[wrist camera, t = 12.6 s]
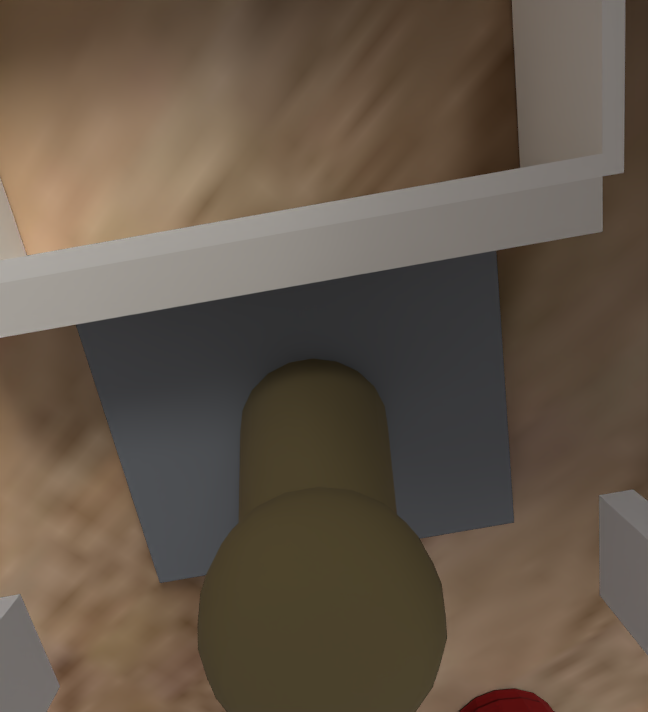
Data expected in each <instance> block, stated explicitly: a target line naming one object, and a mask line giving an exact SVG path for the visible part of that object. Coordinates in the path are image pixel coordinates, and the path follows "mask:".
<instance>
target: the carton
mask: <svg viewBox="0 0 648 712" xmlns="http://www.w3.org/2000/svg"><path fill="white" fill-rule="evenodd" d="M512 16H513V36H514V56H515V76H516V96H517V117H518V137H519V157H520V168H517V169H512V170H506V171H500V172H495V173H489V174H484V175H478V176H472V177H467V178H461V179H455V180H450V181H444V182H439V183H433V184H427V185H422V186H416V187H410V188H405V189H399V190H394V191H388V192H382V193H377V194H371V195H366V196H360V197H354V198H349V199H343V200H337V201H332V202H326V203H321V204H315V205H309V206H304V207H298V208H292V209H287V210H281V211H276V212H270V213H264V214H259V215H253V216H247V217H242V218H236V219H231V220H225V221H219V222H214V223H208V224H202V225H197V226H191V227H186V228H180V229H174V230H169V231H163V232H157V233H152V234H146V235H141V236H135V237H129V238H124V239H118V240H112V241H107V242H101V243H96V244H90V245H84V246H79V247H73V248H67V249H62V250H56V251H51V252H45V253H39V254H34V255H28V256H27V254H26V251H25V248H24V245H23V243H22V240H21V237H20V234H19V231H18V228H17V225H16V222H15V219H14V216H13V213H12V210H11V207H10V204H9V202H8V199H7V196H6V193H5V190H4V187H3V184H2V181H1V178H0V338H2V337H8V336H14V335H20V334H25V333H31V332H37V331H42V330H48V329H54V328H59V327H65V326H71V325H76V324H82V323H88V322H93V321H99V320H105V319H110V318H116V317H122V316H127V315H133V314H139V313H144V312H150V311H156V310H161V309H167V308H173V307H178V306H184V305H190V304H195V303H201V302H207V301H212V300H218V299H224V298H229V297H235V296H241V295H246V294H252V293H258V292H263V291H269V290H275V289H280V288H286V287H292V286H298V285H303V284H309V283H315V282H320V281H326V280H332V279H337V278H343V277H349V276H354V275H360V274H366V273H371V272H377V271H383V270H388V269H394V268H400V267H405V266H411V265H417V264H422V263H428V262H434V261H439V260H445V259H451V258H456V257H462V256H468V255H473V254H479V253H485V252H490V251H496V250H502V249H507V248H513V247H519V246H524V245H530V244H536V243H541V242H547V241H553V240H558V239H564V238H570V237H575V236H581V235H587V234H593V233H598V232H603V176H608V175H614V174H619V173H624V114H625V0H512Z"/></svg>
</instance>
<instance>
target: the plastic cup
mask: <svg viewBox="0 0 648 712" xmlns="http://www.w3.org/2000/svg"><path fill="white" fill-rule="evenodd" d="M460 712H554V711H553V710H552V709H551V707H550V706H549V705H548V703H547V702H545V701H544V700H543V699H541V698H540V697H538V696H537V695H536V694H534V693H531V692H527V691H523V690H519V689H506V690H494V691H492V692H489V693H487V694H484V695H482V696H479V697H477V698H475V699H474V700H472V701H471V702H470V703H469V704H468V705H466V706H465V707H464V708H463V709H462V710H460Z"/></svg>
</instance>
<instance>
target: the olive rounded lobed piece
mask: <svg viewBox="0 0 648 712" xmlns="http://www.w3.org/2000/svg"><path fill="white" fill-rule="evenodd" d="M446 639H447V630H446V615H445V607H444V599H443V592H442V584H441V581H440V579H439V576H438V574H437V571H436V569H435V567H434V564H433V562H432V560H431V559H430V557H429V555H428V553H427V551H426V550H425V548H424V546H423V544H422V543H421V541H420V539H419V537H418V536H417V535H416V533H415V532H414V531H413V530H412V529H411V528H410V526H409V525H408V524H407V523H406V522H405V521H404V520H403V519H401V518H400V517H399V516H398V515H397V509H396V500H395V490H394V481H393V471H392V461H391V452H390V442H389V432H388V424H387V417H386V411H385V405H384V404H383V402H382V400H381V398H380V396H379V394H378V392H377V390H376V389H375V387H374V386H373V385H372V384H371V383H370V382H369V381H368V380H367V379H366V378H365V377H364V376H363V375H361V374H360V373H359V372H358V371H356V370H354V369H352V368H350V367H348V366H345V365H343V364H341V363H339V362H337V361H329V360H321V359H313V358H312V359H307V360H301V361H296V362H290V363H287V364H286V365H284V366H282V367H280V368H278V369H276V370H274V371H272V372H270V373H268V374H267V375H266V376H265V377H264V378H263V379H262V380H261V381H260V382H259V383H258V385H257V386H256V387H255V388H254V389H253V390H252V391H251V393H250V395H249V397H248V400H247V402H246V404H245V406H244V408H243V410H242V420H241V430H240V472H239V523H238V524H237V525H236V526H235V527H234V528H233V529H232V530H231V531H230V533H229V534H228V536H227V537H226V538H225V540H224V541H223V542H222V544H221V546H220V548H219V550H218V552H217V554H216V556H215V558H214V560H213V562H212V564H211V566H210V568H209V570H208V572H207V574H206V577H205V581H204V584H203V587H202V590H201V593H200V603H199V615H198V651H199V654H200V657H201V660H202V663H203V666H204V670H205V673H206V676H207V679H208V681H209V683H210V686H211V688H212V690H213V692H214V695H215V697H216V699H217V700H218V701H219V702H220V704H221V705H222V706H223V707H224V709H225V710H226V711H227V712H416V710H417V709H418V707H419V706H420V705H421V703H422V702H423V700H424V699H425V697H426V696H427V694H428V693H429V692H430V690H431V689H432V687H433V684H434V681H435V678H436V675H437V672H438V669H439V666H440V662H441V658H442V655H443V651H444V647H445V643H446Z"/></svg>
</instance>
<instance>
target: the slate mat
mask: <svg viewBox="0 0 648 712" xmlns="http://www.w3.org/2000/svg"><path fill="white" fill-rule="evenodd" d="M76 327H77V330H78V333H79V336H80V339H81V342H82V345H83V348H84V351H85V354H86V357H87V360H88V364H89V367H90V370H91V373H92V376H93V379H94V382H95V385H96V388H97V391H98V394H99V397H100V400H101V403H102V407H103V410H104V413H105V416H106V419H107V422H108V425H109V428H110V431H111V434H112V437H113V440H114V443H115V446H116V450H117V453H118V456H119V459H120V462H121V465H122V468H123V471H124V474H125V477H126V480H127V483H128V486H129V490H130V493H131V496H132V499H133V502H134V505H135V508H136V511H137V514H138V517H139V520H140V523H141V526H142V529H143V533H144V536H145V539H146V542H147V545H148V548H149V551H150V554H151V557H152V560H153V563H154V566H155V569H156V572H157V576H158V579H159V582H160V583H162V582H168V581H174V580H180V579H186V578H192V577H197V576H203V575H206V574H207V572H208V570H209V568H210V566H211V564H212V562H213V560H214V558H215V556H216V554H217V552H218V550H219V548H220V546H221V544H222V542H223V541H224V540H225V538H226V537H227V536H228V534H229V533H230V531H231V530H232V529H233V528H234V527H235V526H236V525H237V524H238V523H239V472H240V430H241V420H242V410H243V408H244V406H245V404H246V402H247V400H248V397H249V395H250V393H251V391H252V390H253V389H254V388H255V387H256V386H257V385H258V383H259V382H260V381H261V380H262V379H263V378H264V377H265V376H266V375H267V374H268V373H270V372H272V371H274V370H276V369H278V368H280V367H282V366H284V365H286V364H287V363H290V362H296V361H301V360H307V359H312V358H313V359H321V360H329V361H337V362H339V363H341V364H343V365H345V366H348V367H350V368H352V369H354V370H356V371H358V372H359V373H360V374H361V375H363V376H364V377H365V378H366V379H367V380H368V381H369V382H370V383H371V384H372V385H373V386H374V387H375V389H376V390H377V392H378V394H379V396H380V398H381V400H382V402H383V404H384V405H385V411H386V417H387V424H388V432H389V442H390V452H391V461H392V471H393V481H394V490H395V500H396V509H397V515H398V516H399V517H400V518H401V519H403V520H404V521H405V522H406V523H407V524H408V525H409V526H410V528H411V529H412V530H413V531H414V532H415V533H416V535H417V536H418V537H419V539H420V538H426V537H432V536H438V535H443V534H449V533H455V532H461V531H467V530H473V529H479V528H484V527H490V526H496V525H502V524H508V523H514V513H513V498H512V483H511V467H510V452H509V437H508V422H507V407H506V391H505V376H504V361H503V346H502V331H501V315H500V300H499V285H498V270H497V255H496V251H490V252H485V253H479V254H473V255H468V256H462V257H456V258H451V259H445V260H439V261H434V262H428V263H422V264H417V265H411V266H405V267H400V268H394V269H388V270H383V271H377V272H371V273H366V274H360V275H354V276H349V277H343V278H337V279H332V280H326V281H320V282H315V283H309V284H303V285H298V286H292V287H286V288H280V289H275V290H269V291H263V292H258V293H252V294H246V295H241V296H235V297H229V298H224V299H218V300H212V301H207V302H201V303H195V304H190V305H184V306H178V307H173V308H167V309H161V310H156V311H150V312H144V313H139V314H133V315H127V316H122V317H116V318H110V319H105V320H99V321H93V322H88V323H82V324H76Z"/></svg>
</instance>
